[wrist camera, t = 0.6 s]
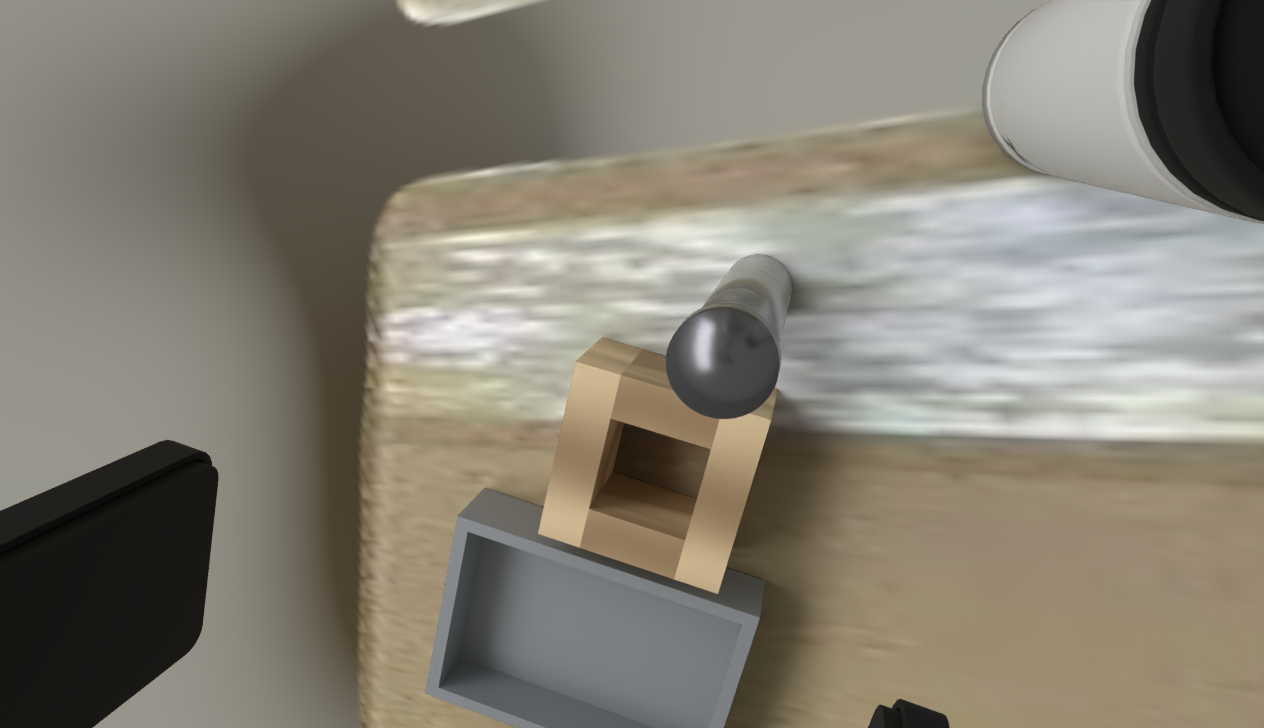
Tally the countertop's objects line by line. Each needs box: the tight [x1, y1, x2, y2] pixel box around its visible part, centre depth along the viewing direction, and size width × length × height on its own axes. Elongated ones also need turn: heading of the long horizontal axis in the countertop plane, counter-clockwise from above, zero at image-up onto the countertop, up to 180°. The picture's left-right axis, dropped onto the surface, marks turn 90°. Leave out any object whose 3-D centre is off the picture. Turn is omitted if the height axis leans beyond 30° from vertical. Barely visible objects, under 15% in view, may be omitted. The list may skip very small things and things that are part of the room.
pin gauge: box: [666, 254, 792, 419], centre depth 29 cm, size 3×3×12 cm
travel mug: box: [982, 0, 1264, 223], centre depth 21 cm, size 6×7×20 cm
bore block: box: [538, 338, 778, 594], centre depth 36 cm, size 8×8×4 cm
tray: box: [425, 488, 766, 728], centre depth 39 cm, size 10×14×3 cm
